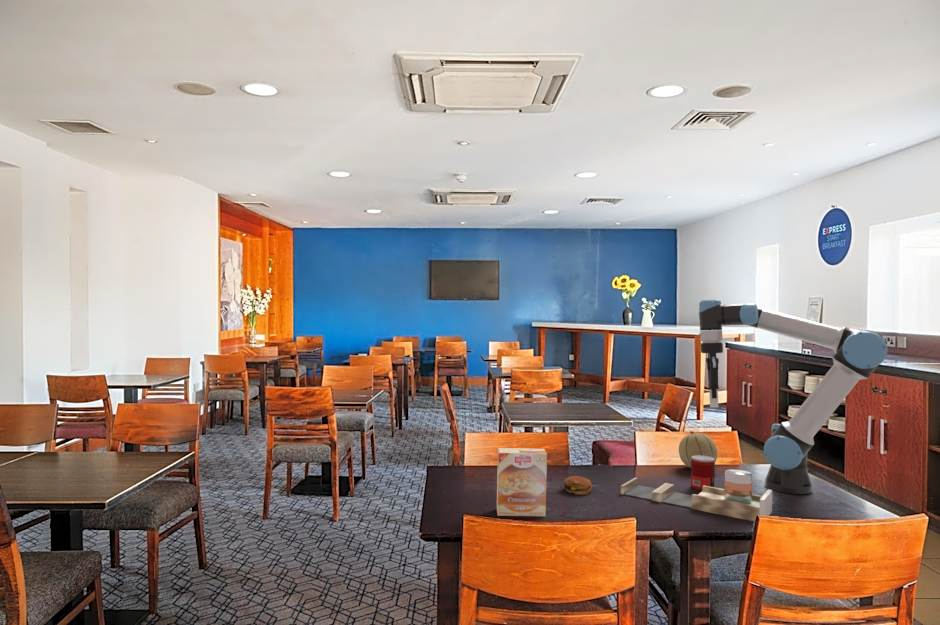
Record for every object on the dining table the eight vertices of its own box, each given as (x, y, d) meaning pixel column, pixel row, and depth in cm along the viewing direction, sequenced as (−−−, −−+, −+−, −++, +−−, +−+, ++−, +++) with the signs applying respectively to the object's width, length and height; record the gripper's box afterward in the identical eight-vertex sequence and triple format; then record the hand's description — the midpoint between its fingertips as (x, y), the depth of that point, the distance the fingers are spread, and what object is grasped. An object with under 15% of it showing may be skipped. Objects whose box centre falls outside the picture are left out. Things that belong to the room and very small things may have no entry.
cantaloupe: (716, 476, 238) (716, 437, 238) (676, 471, 244) (676, 433, 244) (718, 467, 252) (719, 430, 251) (680, 463, 258) (681, 427, 258)
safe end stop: (721, 514, 193) (721, 492, 193) (731, 504, 204) (731, 482, 204) (763, 523, 186) (764, 500, 186) (771, 511, 197) (772, 489, 197)
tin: (743, 496, 202) (744, 469, 202) (756, 504, 194) (757, 476, 194) (719, 496, 202) (720, 469, 202) (731, 504, 194) (732, 476, 194)
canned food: (716, 492, 217) (716, 461, 217) (692, 490, 219) (692, 459, 219) (712, 486, 225) (712, 455, 225) (689, 484, 226) (689, 454, 226)
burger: (587, 487, 221) (588, 474, 221) (595, 495, 212) (595, 481, 212) (560, 487, 220) (560, 474, 220) (566, 495, 211) (567, 482, 211)
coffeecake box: (497, 516, 189) (498, 452, 188) (496, 508, 196) (497, 447, 195) (546, 517, 189) (547, 453, 188) (543, 509, 196) (544, 447, 196)
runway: (620, 494, 213) (620, 481, 213) (634, 485, 224) (635, 473, 224) (759, 522, 187) (759, 507, 187) (767, 510, 198) (768, 496, 198)
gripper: (698, 342, 232) (701, 405, 232) (702, 342, 220) (705, 409, 219) (720, 341, 230) (722, 405, 230) (724, 342, 218) (727, 409, 217)
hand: (714, 407), depth 224 cm, fingers closed
